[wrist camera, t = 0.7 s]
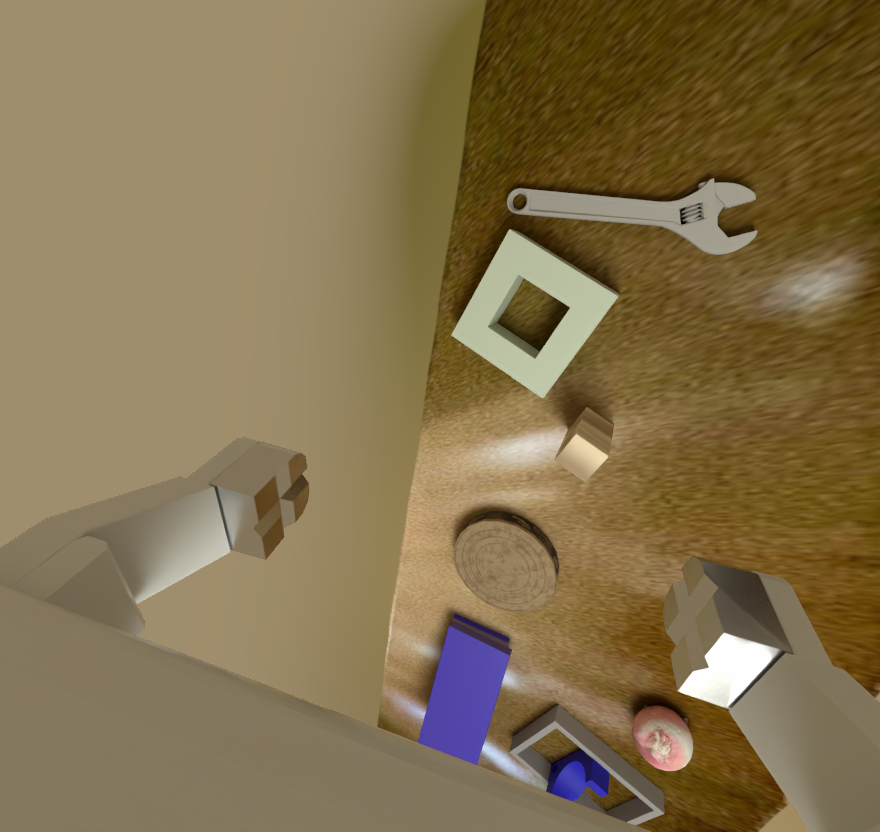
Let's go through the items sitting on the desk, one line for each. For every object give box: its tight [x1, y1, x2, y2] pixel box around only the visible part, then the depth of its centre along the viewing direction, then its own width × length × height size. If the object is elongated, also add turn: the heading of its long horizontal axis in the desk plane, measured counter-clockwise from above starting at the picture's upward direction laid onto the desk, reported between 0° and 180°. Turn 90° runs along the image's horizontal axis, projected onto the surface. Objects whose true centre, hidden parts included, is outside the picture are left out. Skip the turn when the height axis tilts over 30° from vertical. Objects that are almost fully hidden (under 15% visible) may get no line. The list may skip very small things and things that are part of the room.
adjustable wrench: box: [507, 178, 757, 255], centre depth 45 cm, size 25×6×2 cm, turn 78°
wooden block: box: [555, 407, 614, 482], centre depth 50 cm, size 4×4×10 cm
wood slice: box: [454, 512, 559, 612], centre depth 64 cm, size 16×16×3 cm
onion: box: [632, 705, 693, 771], centre depth 60 cm, size 8×8×7 cm
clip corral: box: [509, 705, 664, 825], centre depth 71 cm, size 14×20×3 cm
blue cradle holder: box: [546, 749, 609, 801], centre depth 69 cm, size 12×4×6 cm, turn 148°
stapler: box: [418, 614, 512, 765], centre depth 73 cm, size 12×28×10 cm, turn 173°
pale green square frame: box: [452, 229, 620, 398], centre depth 51 cm, size 14×14×4 cm
